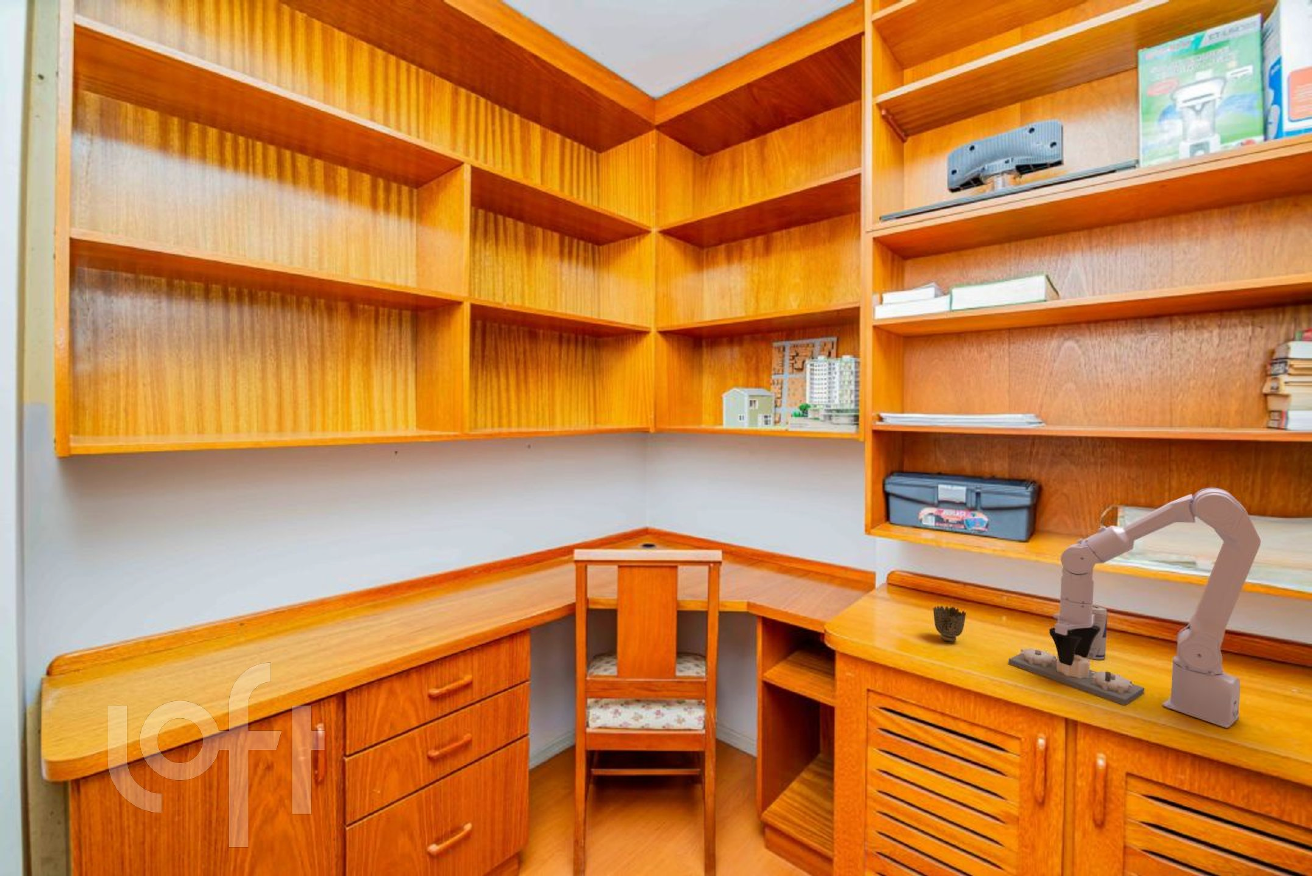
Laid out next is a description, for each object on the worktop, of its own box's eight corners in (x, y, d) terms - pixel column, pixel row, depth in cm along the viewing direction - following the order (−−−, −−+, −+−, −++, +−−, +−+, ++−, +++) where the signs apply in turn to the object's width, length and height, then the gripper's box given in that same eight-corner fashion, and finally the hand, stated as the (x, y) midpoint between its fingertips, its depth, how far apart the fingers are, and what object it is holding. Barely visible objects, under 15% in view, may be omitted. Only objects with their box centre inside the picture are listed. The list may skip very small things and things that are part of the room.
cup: (971, 645, 142) (972, 614, 141) (946, 647, 140) (947, 616, 140) (950, 634, 149) (951, 604, 149) (925, 636, 147) (927, 605, 147)
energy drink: (1106, 655, 137) (1109, 607, 137) (1103, 662, 133) (1105, 612, 133) (1079, 649, 141) (1081, 601, 140) (1075, 655, 137) (1077, 606, 137)
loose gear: (1094, 674, 124) (1094, 660, 124) (1082, 680, 121) (1083, 666, 121) (1063, 664, 129) (1064, 650, 129) (1051, 670, 126) (1052, 656, 126)
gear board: (1143, 693, 118) (1145, 672, 118) (1125, 705, 113) (1126, 683, 113) (1029, 654, 137) (1030, 636, 137) (1008, 663, 131) (1009, 644, 131)
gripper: (1070, 589, 131) (1067, 646, 132) (1040, 599, 124) (1037, 660, 124) (1106, 598, 125) (1103, 657, 126) (1078, 609, 118) (1074, 672, 118)
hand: (1073, 659), depth 125 cm, fingers open, 7 cm apart
